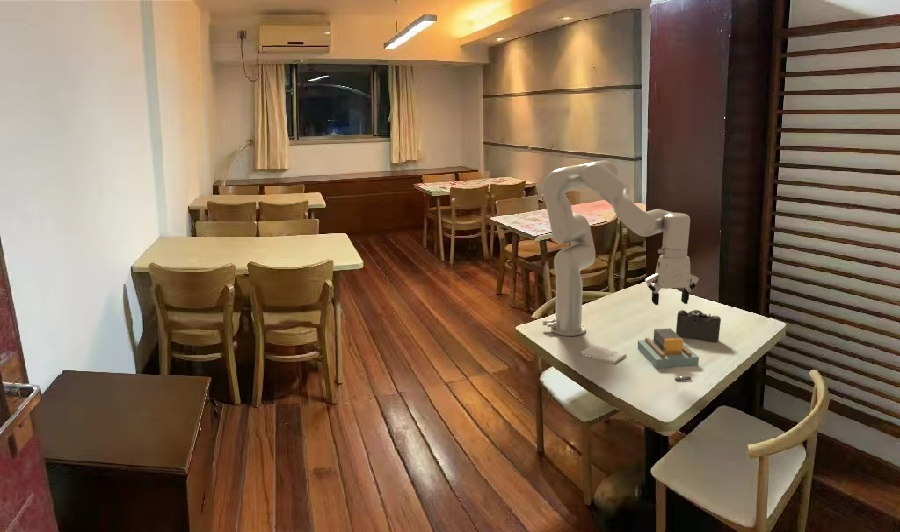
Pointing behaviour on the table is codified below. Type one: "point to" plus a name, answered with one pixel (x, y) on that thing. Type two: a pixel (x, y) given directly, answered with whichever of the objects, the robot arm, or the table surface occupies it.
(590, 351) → the external hard drive
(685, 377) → the grey metal rounded bar
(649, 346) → the stand
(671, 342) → the block
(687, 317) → the camera
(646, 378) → the table surface
